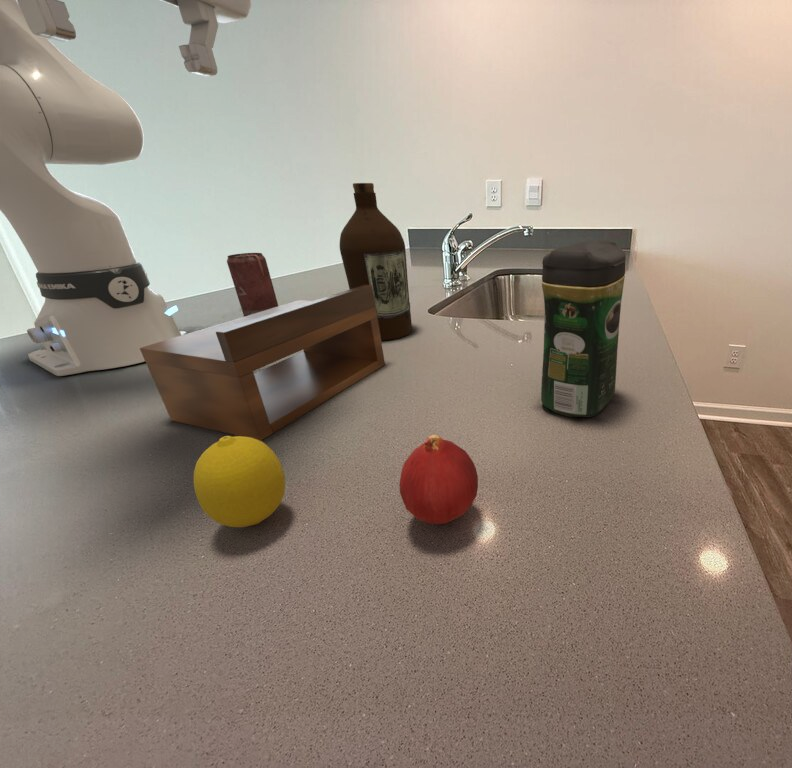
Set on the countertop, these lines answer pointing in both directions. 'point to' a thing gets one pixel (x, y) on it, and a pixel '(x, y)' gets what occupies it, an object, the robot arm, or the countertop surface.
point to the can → (252, 282)
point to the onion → (438, 481)
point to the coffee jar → (581, 326)
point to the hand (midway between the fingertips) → (139, 58)
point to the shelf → (262, 345)
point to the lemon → (239, 481)
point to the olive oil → (377, 262)
